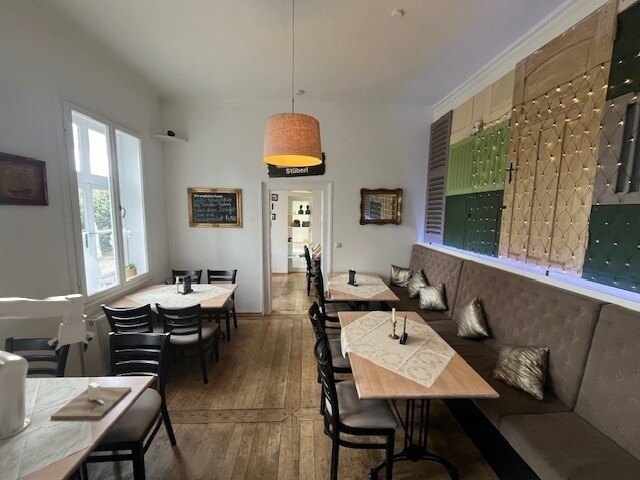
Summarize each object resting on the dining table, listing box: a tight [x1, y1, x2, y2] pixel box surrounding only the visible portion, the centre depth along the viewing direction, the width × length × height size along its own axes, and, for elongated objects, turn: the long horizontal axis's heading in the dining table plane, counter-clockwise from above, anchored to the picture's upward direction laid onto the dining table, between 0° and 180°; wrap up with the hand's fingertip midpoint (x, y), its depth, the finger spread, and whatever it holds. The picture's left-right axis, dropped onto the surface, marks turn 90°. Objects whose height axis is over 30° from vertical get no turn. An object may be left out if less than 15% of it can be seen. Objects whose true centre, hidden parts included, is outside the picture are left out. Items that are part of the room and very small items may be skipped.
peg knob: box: [87, 381, 104, 404], centre depth 131 cm, size 12×3×7 cm, turn 63°
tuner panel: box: [50, 386, 132, 420], centre depth 131 cm, size 22×21×2 cm
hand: (71, 353), depth 133 cm, fingers open, 9 cm apart
